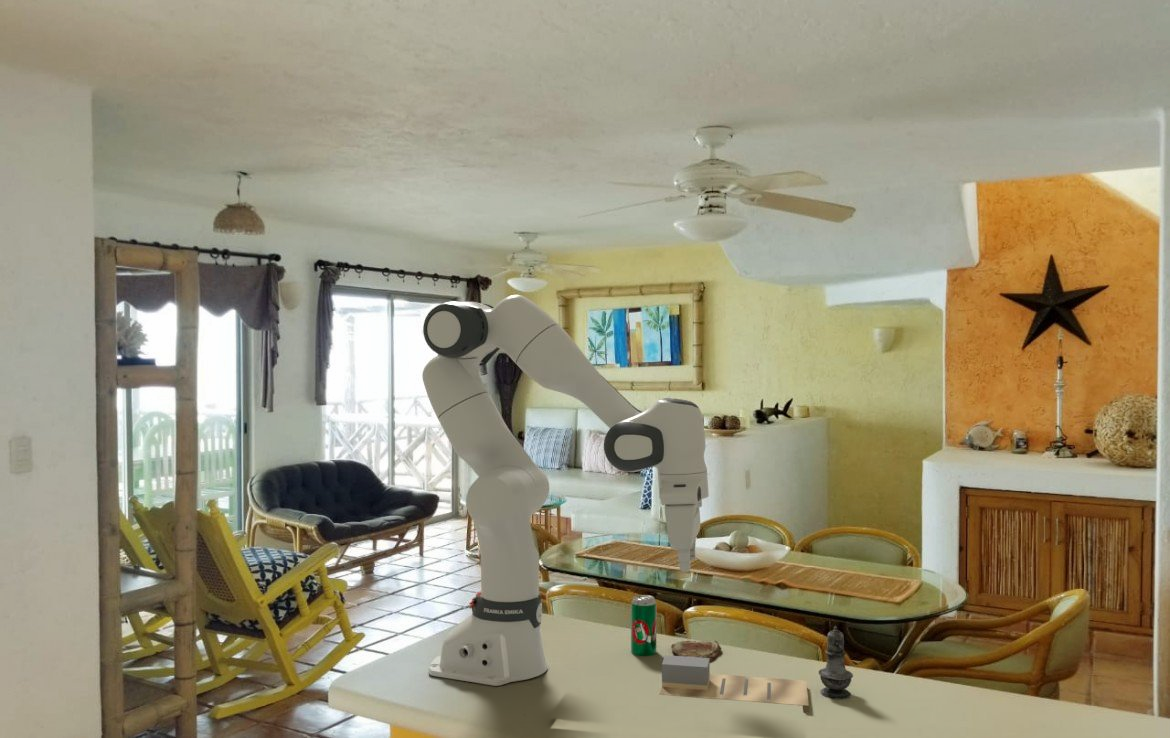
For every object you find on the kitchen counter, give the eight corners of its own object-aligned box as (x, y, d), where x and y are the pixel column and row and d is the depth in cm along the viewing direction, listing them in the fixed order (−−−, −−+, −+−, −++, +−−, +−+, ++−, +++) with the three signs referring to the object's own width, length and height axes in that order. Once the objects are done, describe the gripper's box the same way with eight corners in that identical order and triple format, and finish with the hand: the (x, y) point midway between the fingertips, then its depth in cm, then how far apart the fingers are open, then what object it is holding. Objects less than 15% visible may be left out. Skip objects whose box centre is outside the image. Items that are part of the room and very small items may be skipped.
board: (659, 700, 149) (659, 693, 149) (667, 677, 161) (667, 670, 161) (808, 712, 143) (808, 705, 143) (806, 687, 155) (806, 680, 155)
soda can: (647, 652, 175) (647, 593, 175) (661, 659, 171) (661, 598, 171) (626, 656, 173) (626, 596, 173) (640, 663, 168) (640, 602, 168)
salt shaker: (817, 697, 150) (816, 628, 150) (820, 686, 156) (819, 619, 156) (852, 701, 148) (852, 631, 148) (854, 690, 154) (853, 622, 154)
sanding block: (661, 686, 152) (661, 664, 152) (665, 677, 157) (665, 655, 157) (707, 690, 151) (707, 667, 151) (709, 680, 155) (709, 658, 155)
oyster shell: (668, 649, 179) (668, 634, 179) (717, 648, 178) (716, 633, 179) (674, 670, 165) (673, 654, 165) (726, 670, 165) (726, 653, 165)
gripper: (672, 481, 166) (676, 553, 165) (658, 496, 146) (663, 578, 145) (705, 480, 164) (709, 553, 164) (696, 495, 144) (701, 578, 144)
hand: (688, 565), depth 155 cm, fingers open, 8 cm apart
